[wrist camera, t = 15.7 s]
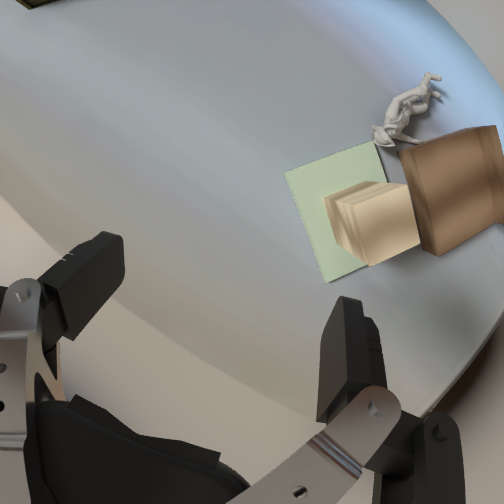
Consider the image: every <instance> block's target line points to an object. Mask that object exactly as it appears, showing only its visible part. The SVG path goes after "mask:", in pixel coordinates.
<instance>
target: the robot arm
mask: <svg viewBox="0 0 504 504" xmlns="http://www.w3.org/2000/svg"><path fill="white" fill-rule="evenodd" d="M124 275H125V264H124V247H123V239H122V237H121V236H119V235H116V234H112V233H109V232H106V231H102V232H101V233H99V234H98V235H97V236H96V237H94V238H93V239H92V240H89V241H86V242H84V243H82V244H79V245H77V246H76V247H75V248H74V249H72V250H71V251H70V252H69V254H66V255H65V256H64V257H63V258H62V260H59V261H58V262H57V263H55V264H54V265H53V266H52V267H51V268H50V269H48V270H47V271H46V272H45V273H44V274H43V275H42V276H40V277H39V278H38V279H37V280H35V279H31V278H24V279H20V280H18V281H16V282H14V283H13V284H11V285H10V286H9V287H3V286H0V504H336V503H337V502H338V501H339V500H340V499H341V498H342V497H343V496H344V495H345V494H346V493H347V491H348V490H349V489H350V488H351V487H352V486H353V485H354V484H355V482H356V481H357V480H358V479H359V477H360V476H361V474H362V472H361V469H362V468H363V467H364V468H366V469H369V470H372V471H374V472H375V473H374V487H373V497H372V504H466V501H465V500H466V499H465V479H464V466H463V456H462V447H461V440H460V433H459V429H458V426H457V424H456V422H455V421H454V420H453V419H452V418H451V417H450V416H449V415H447V414H445V413H441V412H436V413H433V414H431V415H429V416H428V417H427V418H426V419H425V420H424V419H421V418H419V417H416V416H414V415H412V414H409V413H407V412H405V411H403V410H401V405H400V402H399V400H398V399H397V397H396V396H395V395H394V394H393V393H392V392H391V391H390V390H388V388H387V381H386V373H385V366H384V359H383V353H382V347H381V344H380V335H379V330H378V328H377V326H376V325H375V323H374V322H373V320H372V318H369V317H365V316H364V313H363V306H362V302H361V300H356V299H352V298H348V297H344V296H340V297H339V298H338V300H337V302H336V304H335V306H334V308H333V311H332V313H331V315H330V317H329V319H328V321H327V324H326V326H325V328H324V331H323V334H322V338H321V346H320V369H319V387H318V403H317V416H316V422H321V423H326V427H325V428H324V429H323V430H322V431H321V432H320V433H319V434H317V435H315V436H313V437H312V438H311V439H310V440H309V441H308V442H306V443H305V444H304V445H303V446H302V447H301V448H300V449H298V450H297V451H296V452H295V453H294V454H292V455H291V456H290V457H289V458H288V459H286V460H285V461H284V462H283V463H281V464H280V465H279V466H278V467H276V468H275V469H274V470H272V471H271V472H270V473H269V474H267V475H266V476H265V477H263V478H262V479H261V480H259V481H258V482H257V483H255V484H254V485H252V486H250V485H249V483H248V482H247V481H246V480H245V479H244V478H243V477H242V476H241V475H239V474H238V473H237V472H236V471H235V470H233V469H232V468H230V467H229V466H227V465H225V464H223V463H221V462H220V461H219V458H220V455H221V453H220V452H216V451H213V450H209V449H205V448H202V447H199V446H196V445H193V444H190V443H187V442H184V441H180V440H171V439H164V438H157V437H150V436H144V435H139V434H137V433H135V432H134V431H132V430H131V429H130V428H128V427H127V426H126V425H124V424H123V423H122V422H120V421H119V420H118V419H117V418H116V417H114V416H113V415H112V414H110V413H109V412H108V411H107V410H105V409H103V408H101V407H99V406H97V405H95V404H93V403H92V402H90V401H88V400H86V399H84V398H82V397H80V396H78V395H77V394H76V395H75V396H74V397H73V399H72V400H71V402H69V401H66V399H65V396H64V393H63V389H62V379H61V358H60V343H59V339H60V338H61V337H62V336H64V337H66V338H68V339H70V340H72V341H74V340H75V338H76V337H77V336H78V335H79V333H80V332H81V331H82V330H83V329H84V327H85V326H86V325H87V324H88V322H89V321H90V320H91V319H92V318H93V316H94V315H95V314H96V313H97V312H98V310H99V309H100V308H101V307H102V306H103V305H104V303H105V302H106V301H107V300H108V299H109V298H110V297H111V295H112V294H113V293H114V292H115V291H116V290H117V288H118V287H119V286H120V285H121V283H122V281H123V279H124Z"/></svg>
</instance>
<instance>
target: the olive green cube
mask: <svg viewBox="0 0 504 504" xmlns="http://www.w3.org/2000/svg"><path fill="white" fill-rule="evenodd" d="M16 1H17V2H19V3H20V4H22V5H23V6H24V7H26V8H27V9H29V10H30V9H33V8H36V7H39V6H42V5H45V4H49V3H52V2H56V1H59V0H16Z"/></svg>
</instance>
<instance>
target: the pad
mask: <svg viewBox="0 0 504 504" xmlns="http://www.w3.org/2000/svg"><path fill="white" fill-rule="evenodd" d="M283 174H284V176H285V178H286V181H287V183H288V186H289V188H290V191H291V193H292V196H293V199H294V201H295V204H296V206H297V209H298V211H299V214H300V217H301V219H302V222H303V225H304V227H305V230H306V233H307V235H308V238H309V241H310V243H311V246H312V249H313V252H314V254H315V257H316V260H317V263H318V266H319V268H320V271H321V274H322V277H323V280H324V282H325V283H328V282H330V281H332V280H335V279H337V278H339V277H341V276H343V275H346V274H348V273H350V272H352V271H354V270H356V269H358V268H361V267H363V266H365V265H367V264H366V263H364V262H363V261H361V260H360V259H358V258H357V257H355V256H354V255H352V254H351V253H349V252H348V251H346V250H345V249H343V248H342V247H341V246H339V245H338V244H337V243H336V240H335V237H334V234H333V230H332V227H331V224H330V221H329V218H328V215H327V212H326V209H325V206H324V203H323V200H322V197H324V196H326V195H329V194H332V193H334V192H337V191H340V190H342V189H345V188H348V187H350V186H353V185H356V184H358V183H361V182H364V181H370V182H383V183H387V180H386V177H385V174H384V171H383V168H382V165H381V162H380V159H379V156H378V153H377V150H376V148H375V145H374V142H373V141H370V142H367V143H364V144H361V145H358V146H355V147H352V148H349V149H346V150H344V151H341V152H338V153H335V154H333V155H330V156H327V157H324V158H322V159H319V160H316V161H314V162H311V163H308V164H306V165H303V166H300V167H298V168H295V169H293V170H290V171H288V172H285V173H283Z"/></svg>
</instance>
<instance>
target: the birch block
mask: <svg viewBox="0 0 504 504" xmlns="http://www.w3.org/2000/svg"><path fill="white" fill-rule="evenodd" d="M322 200H323V203H324V206H325V209H326V212H327V215H328V218H329V221H330V224H331V227H332V230H333V234H334V237H335V240H336V243H337V244H338V245H339V246H341V247H342V248H343V249H345V250H346V251H348V252H349V253H351V254H352V255H354V256H355V257H357V258H358V259H360V260H361V261H363V262H364V263H366V264H367V265H368V266H370V267H371V266H373V265H376V264H378V263H380V262H382V261H384V260H386V259H389V258H391V257H393V256H395V255H397V254H399V253H401V252H403V251H405V250H408V249H410V248H412V247H414V246H416V245H418V244H420V239H419V234H418V229H417V225H416V220H415V216H414V211H413V207H412V203H411V199H410V195H409V191H408V187H407V185H406V184H395V183H383V182H370V181H364V182H361V183H358V184H356V185H353V186H350V187H348V188H345V189H342V190H340V191H337V192H334V193H332V194H329V195H326V196H324V197H322Z"/></svg>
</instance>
